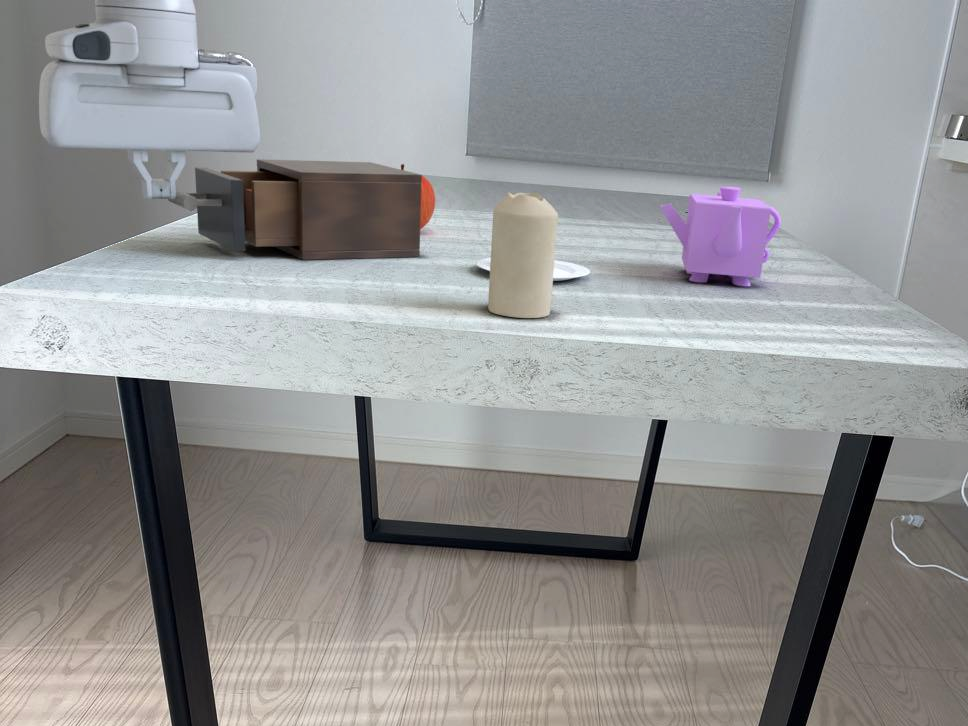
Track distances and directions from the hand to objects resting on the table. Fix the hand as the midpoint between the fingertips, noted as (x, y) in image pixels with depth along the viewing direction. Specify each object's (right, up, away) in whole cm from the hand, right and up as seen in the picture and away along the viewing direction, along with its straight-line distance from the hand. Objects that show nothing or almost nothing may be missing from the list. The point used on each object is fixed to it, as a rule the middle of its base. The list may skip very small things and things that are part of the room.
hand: (159, 198), depth 105 cm
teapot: (+57, -5, +13) cm, 59 cm away
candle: (+36, -14, -12) cm, 40 cm away
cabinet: (+15, -2, +12) cm, 20 cm away
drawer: (+8, -2, +7) cm, 11 cm away
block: (+9, -1, +7) cm, 12 cm away
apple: (+20, +5, +29) cm, 36 cm away
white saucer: (+37, -6, +6) cm, 38 cm away
